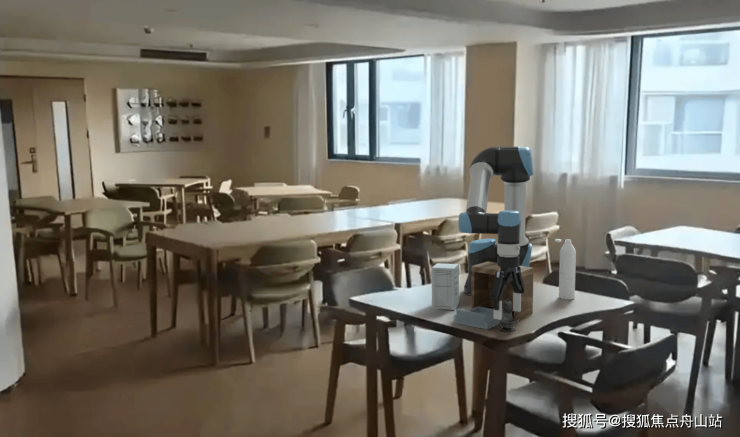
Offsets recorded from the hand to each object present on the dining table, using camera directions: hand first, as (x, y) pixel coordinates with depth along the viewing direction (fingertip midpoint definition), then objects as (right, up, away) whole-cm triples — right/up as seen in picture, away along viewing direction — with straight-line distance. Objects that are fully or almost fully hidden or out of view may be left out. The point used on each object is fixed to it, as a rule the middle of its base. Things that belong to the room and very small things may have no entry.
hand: (507, 315), depth 230 cm
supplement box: (-18, -2, +34) cm, 38 cm away
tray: (-6, -4, +13) cm, 15 cm away
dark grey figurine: (0, -6, +1) cm, 6 cm away
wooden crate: (+3, -3, +24) cm, 24 cm away
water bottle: (+33, 0, +45) cm, 56 cm away
